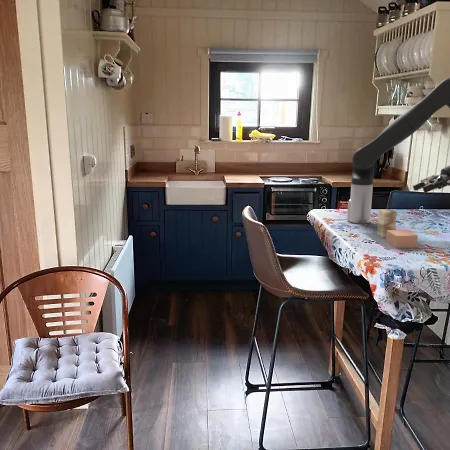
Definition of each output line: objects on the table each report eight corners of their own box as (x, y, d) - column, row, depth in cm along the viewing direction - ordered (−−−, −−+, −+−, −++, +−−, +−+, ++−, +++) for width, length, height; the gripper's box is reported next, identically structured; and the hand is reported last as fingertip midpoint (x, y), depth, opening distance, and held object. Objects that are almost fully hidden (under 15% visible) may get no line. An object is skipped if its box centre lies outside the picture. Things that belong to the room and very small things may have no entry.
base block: (395, 247, 165) (396, 235, 164) (385, 241, 173) (386, 230, 172) (416, 247, 166) (417, 235, 165) (406, 241, 174) (407, 229, 173)
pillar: (382, 237, 179) (384, 212, 177) (377, 233, 184) (379, 209, 182) (394, 236, 180) (396, 211, 177) (389, 233, 185) (391, 209, 182)
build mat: (387, 251, 164) (387, 249, 164) (363, 234, 186) (363, 232, 186) (427, 249, 165) (428, 248, 165) (398, 233, 187) (398, 231, 187)
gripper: (444, 163, 187) (407, 179, 187) (463, 164, 173) (424, 182, 173) (450, 180, 188) (413, 196, 188) (470, 182, 174) (430, 200, 174)
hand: (418, 189), depth 181 cm, fingers open, 8 cm apart
